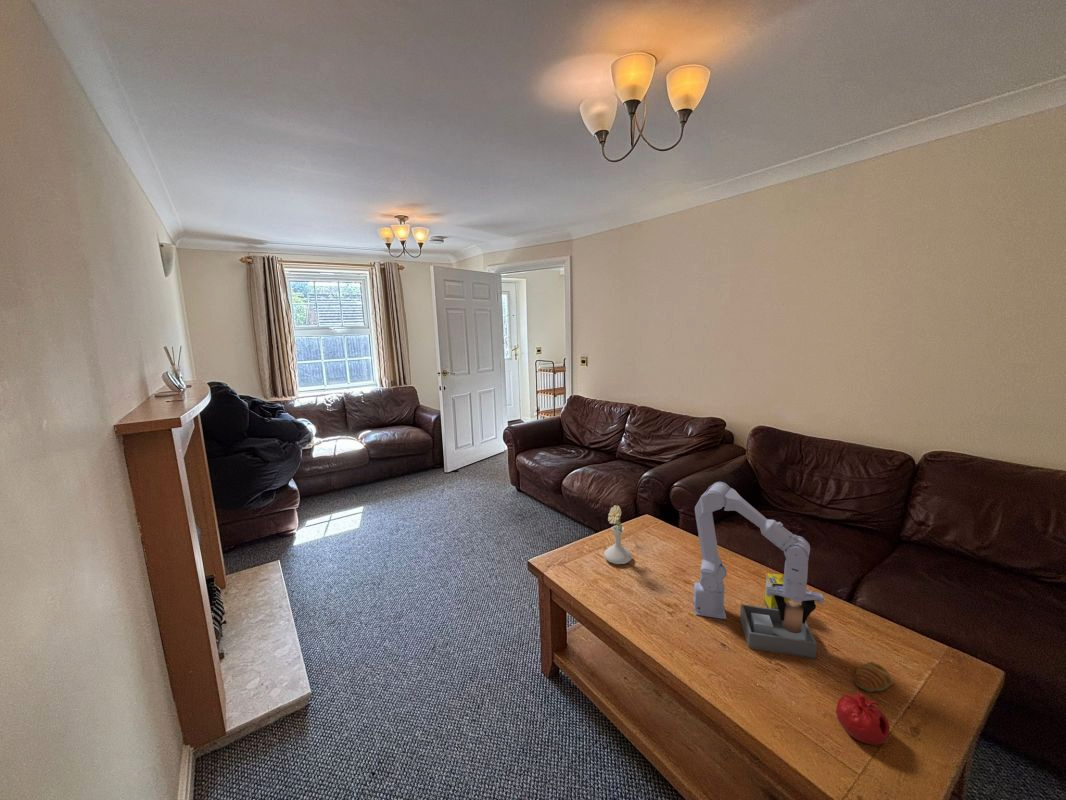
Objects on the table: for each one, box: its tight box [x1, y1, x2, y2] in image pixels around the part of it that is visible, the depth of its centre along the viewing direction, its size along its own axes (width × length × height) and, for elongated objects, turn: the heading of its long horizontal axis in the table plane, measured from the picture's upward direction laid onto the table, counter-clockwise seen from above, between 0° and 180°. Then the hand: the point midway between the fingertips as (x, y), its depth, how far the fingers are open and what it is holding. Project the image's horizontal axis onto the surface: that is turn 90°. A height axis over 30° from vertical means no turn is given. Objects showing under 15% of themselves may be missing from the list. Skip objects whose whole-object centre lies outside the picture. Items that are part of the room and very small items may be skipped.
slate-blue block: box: [750, 613, 773, 635], centre depth 126 cm, size 5×5×5 cm
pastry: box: [854, 661, 894, 693], centre depth 109 cm, size 9×7×4 cm
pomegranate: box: [835, 690, 891, 745], centre depth 95 cm, size 10×10×9 cm
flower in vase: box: [603, 505, 633, 565], centre depth 167 cm, size 13×11×25 cm
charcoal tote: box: [739, 603, 818, 660], centre depth 125 cm, size 17×13×5 cm
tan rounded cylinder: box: [782, 600, 804, 633], centre depth 122 cm, size 5×5×7 cm
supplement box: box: [763, 572, 792, 609], centre depth 137 cm, size 6×6×11 cm
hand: (791, 619), depth 123 cm, fingers closed on tan rounded cylinder, 5 cm apart
